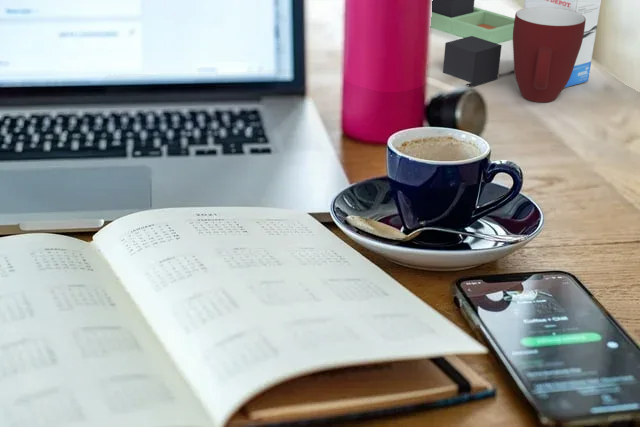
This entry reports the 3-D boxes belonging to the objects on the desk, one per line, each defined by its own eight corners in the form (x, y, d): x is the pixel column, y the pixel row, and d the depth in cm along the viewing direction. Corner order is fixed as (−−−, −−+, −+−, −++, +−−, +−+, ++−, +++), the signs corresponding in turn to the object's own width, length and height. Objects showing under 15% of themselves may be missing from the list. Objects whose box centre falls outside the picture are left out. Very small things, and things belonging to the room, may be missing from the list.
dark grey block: (468, 68, 116) (471, 35, 114) (497, 79, 113) (501, 45, 111) (442, 76, 113) (445, 42, 111) (471, 87, 110) (475, 52, 108)
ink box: (590, 82, 112) (605, -11, 107) (563, 89, 110) (578, -5, 104) (540, 63, 119) (552, -25, 113) (514, 70, 116) (525, -20, 111)
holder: (410, 24, 134) (411, 7, 133) (447, 15, 139) (448, -1, 137) (488, 49, 124) (490, 31, 122) (525, 39, 128) (527, 21, 127)
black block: (447, 15, 136) (450, -14, 134) (472, 23, 133) (475, -7, 131) (425, 21, 134) (427, -9, 131) (449, 29, 130) (452, -2, 128)
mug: (579, 119, 101) (593, 34, 97) (508, 114, 102) (518, 30, 97) (569, 87, 110) (581, 8, 106) (503, 83, 111) (513, 5, 107)
